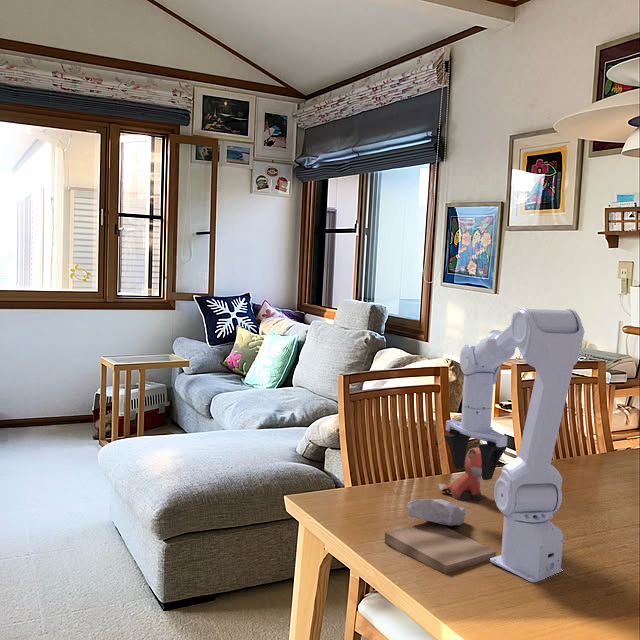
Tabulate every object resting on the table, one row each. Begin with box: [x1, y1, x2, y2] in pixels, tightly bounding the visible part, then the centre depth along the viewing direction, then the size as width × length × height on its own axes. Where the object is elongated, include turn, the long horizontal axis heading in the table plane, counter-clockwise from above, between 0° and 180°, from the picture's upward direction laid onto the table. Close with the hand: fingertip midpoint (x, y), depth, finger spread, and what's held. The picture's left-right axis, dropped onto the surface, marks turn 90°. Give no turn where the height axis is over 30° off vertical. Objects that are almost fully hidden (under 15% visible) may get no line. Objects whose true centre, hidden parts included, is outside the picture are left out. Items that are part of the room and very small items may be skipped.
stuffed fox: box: [437, 442, 483, 502], centre depth 158 cm, size 8×11×12 cm
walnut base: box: [384, 521, 497, 575], centre depth 128 cm, size 16×12×2 cm
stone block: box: [406, 498, 467, 527], centre depth 139 cm, size 12×5×10 cm
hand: (472, 473), depth 141 cm, fingers open, 7 cm apart
